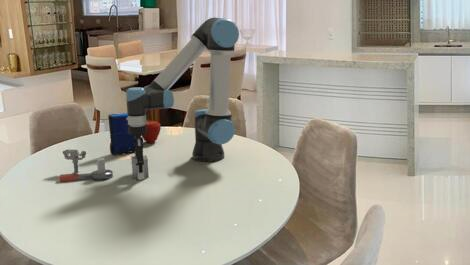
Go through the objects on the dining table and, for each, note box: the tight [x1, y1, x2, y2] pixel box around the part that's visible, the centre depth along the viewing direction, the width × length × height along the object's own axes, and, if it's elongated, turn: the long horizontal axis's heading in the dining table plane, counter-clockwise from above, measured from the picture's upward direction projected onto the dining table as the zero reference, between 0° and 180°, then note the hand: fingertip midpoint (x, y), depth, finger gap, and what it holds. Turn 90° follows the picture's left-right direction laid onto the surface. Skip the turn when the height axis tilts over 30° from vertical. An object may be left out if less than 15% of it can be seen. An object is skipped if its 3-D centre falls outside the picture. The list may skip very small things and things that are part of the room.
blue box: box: [108, 112, 135, 156], centre depth 273 cm, size 14×5×20 cm, turn 122°
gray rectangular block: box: [130, 154, 150, 180], centre depth 239 cm, size 6×6×8 cm
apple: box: [141, 119, 162, 144], centre depth 292 cm, size 11×11×12 cm
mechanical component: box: [62, 149, 87, 174], centre depth 245 cm, size 3×10×10 cm, turn 79°
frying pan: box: [59, 157, 114, 183], centre depth 237 cm, size 22×9×8 cm, turn 103°
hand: (140, 175), depth 240 cm, fingers open, 10 cm apart
